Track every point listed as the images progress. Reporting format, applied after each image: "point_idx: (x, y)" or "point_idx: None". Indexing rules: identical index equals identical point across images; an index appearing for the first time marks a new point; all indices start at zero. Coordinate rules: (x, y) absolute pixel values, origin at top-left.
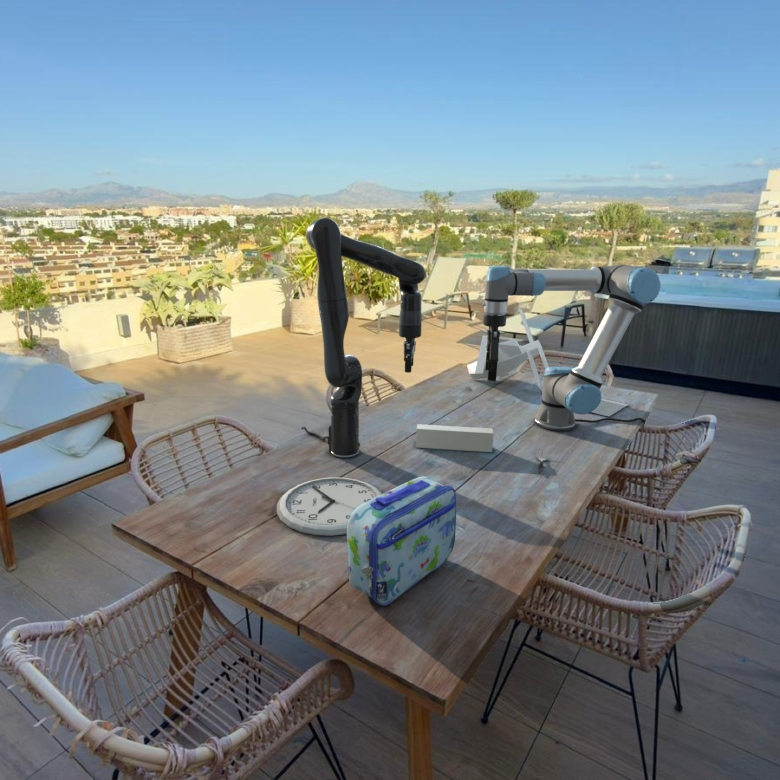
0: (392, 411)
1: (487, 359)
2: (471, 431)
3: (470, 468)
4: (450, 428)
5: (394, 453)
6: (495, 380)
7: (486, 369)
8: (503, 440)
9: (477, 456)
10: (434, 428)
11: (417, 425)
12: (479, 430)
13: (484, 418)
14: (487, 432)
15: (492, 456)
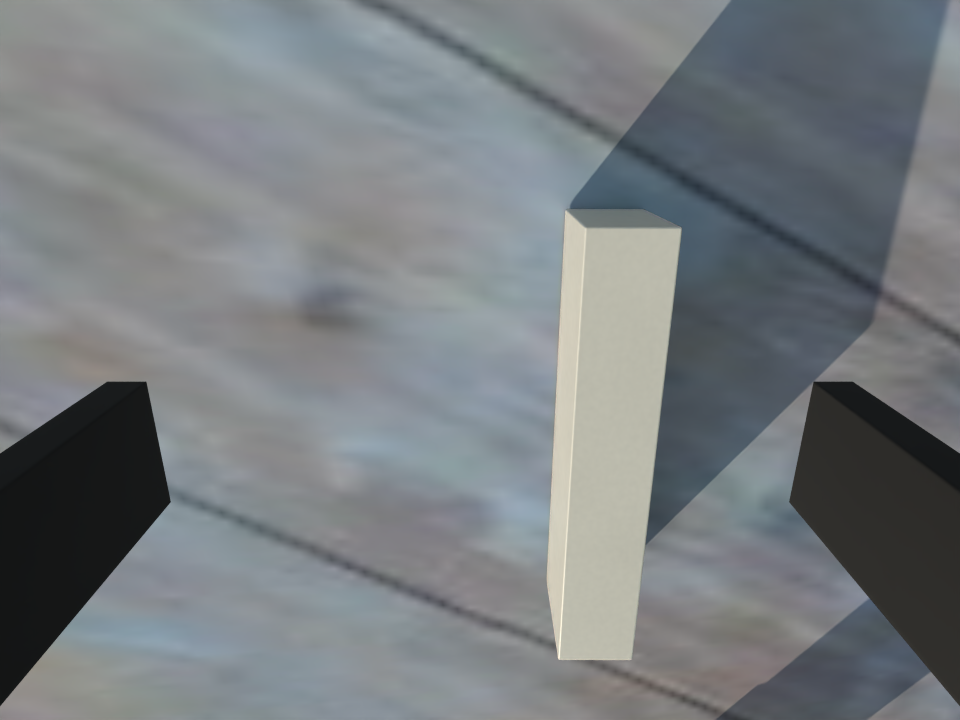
0: (143, 708)
1: (37, 627)
2: (655, 375)
3: (854, 336)
4: (611, 497)
5: (682, 655)
6: (855, 393)
7: (161, 493)
8: (439, 117)
9: (702, 295)
10: (620, 579)
11: (580, 659)
12: (633, 323)
13: (56, 222)
14: (667, 269)
15: (700, 209)
